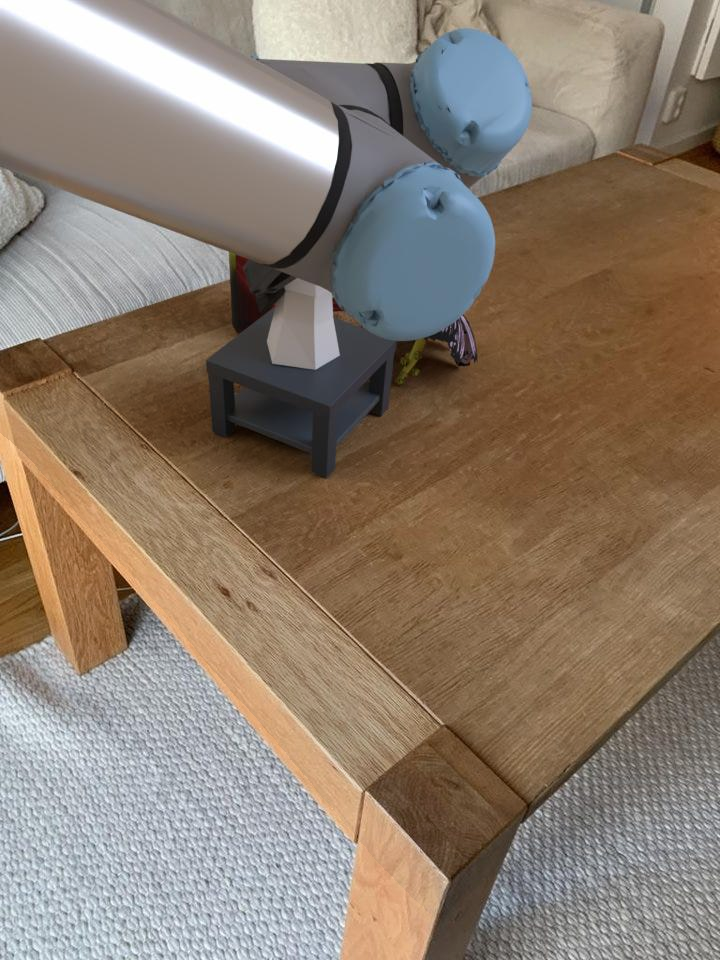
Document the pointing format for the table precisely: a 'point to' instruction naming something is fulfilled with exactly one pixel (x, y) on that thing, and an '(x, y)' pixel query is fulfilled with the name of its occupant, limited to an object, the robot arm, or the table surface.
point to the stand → (300, 390)
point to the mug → (246, 296)
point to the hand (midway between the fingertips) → (290, 293)
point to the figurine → (303, 327)
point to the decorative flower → (457, 340)
